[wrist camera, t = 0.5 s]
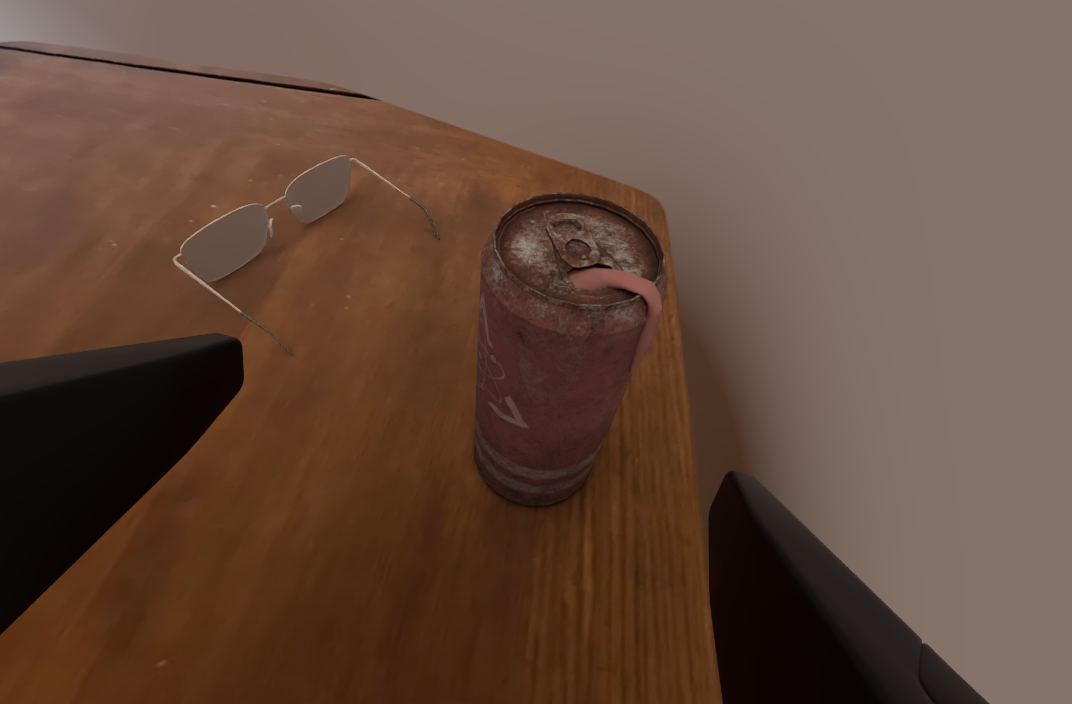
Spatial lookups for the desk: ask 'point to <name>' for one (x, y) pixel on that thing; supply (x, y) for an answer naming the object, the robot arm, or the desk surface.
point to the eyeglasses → (267, 224)
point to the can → (559, 338)
